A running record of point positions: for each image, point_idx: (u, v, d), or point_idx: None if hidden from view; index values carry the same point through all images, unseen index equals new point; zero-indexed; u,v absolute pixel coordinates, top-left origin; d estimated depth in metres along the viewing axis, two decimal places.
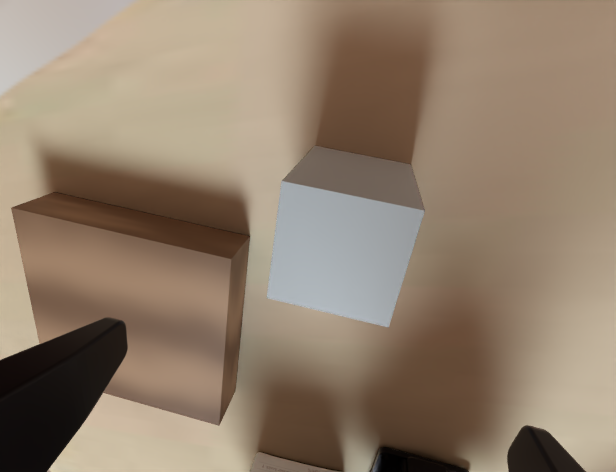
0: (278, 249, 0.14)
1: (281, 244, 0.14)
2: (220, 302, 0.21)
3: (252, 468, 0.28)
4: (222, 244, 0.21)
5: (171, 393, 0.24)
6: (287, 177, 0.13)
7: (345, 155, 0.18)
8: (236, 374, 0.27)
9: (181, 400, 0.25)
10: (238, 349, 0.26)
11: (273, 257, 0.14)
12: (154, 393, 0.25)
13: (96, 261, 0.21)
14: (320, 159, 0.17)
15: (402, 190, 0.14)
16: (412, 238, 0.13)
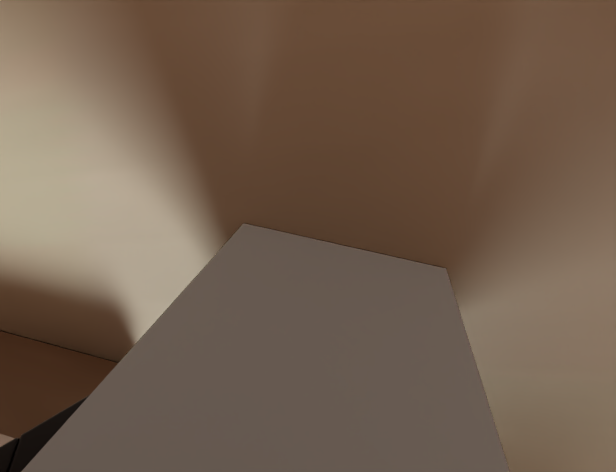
0: None
1: None
2: None
3: None
4: None
5: None
6: None
7: (302, 255, 0.08)
8: None
9: None
10: None
11: None
12: None
13: None
14: (229, 290, 0.07)
15: None
16: None
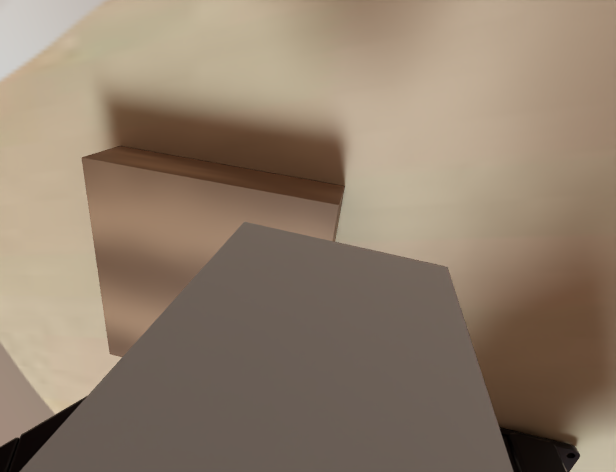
0: None
1: None
2: None
3: None
4: (321, 192, 0.18)
5: None
6: None
7: (303, 253, 0.08)
8: None
9: None
10: None
11: None
12: None
13: (177, 216, 0.19)
14: (230, 288, 0.07)
15: (457, 469, 0.04)
16: None
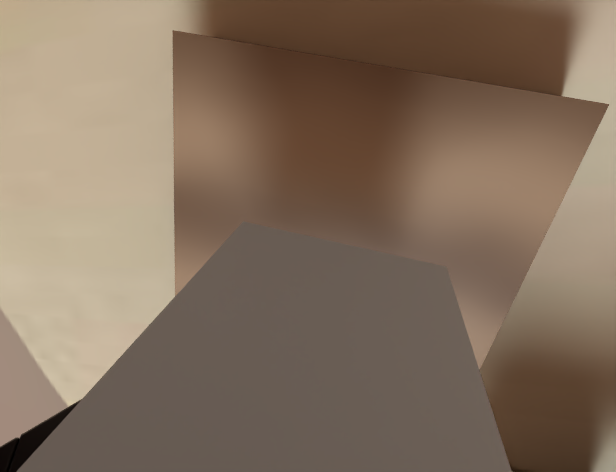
0: None
1: None
2: (547, 198, 0.12)
3: None
4: None
5: None
6: None
7: (302, 253, 0.08)
8: None
9: None
10: None
11: None
12: None
13: (317, 131, 0.12)
14: (229, 288, 0.07)
15: (455, 470, 0.04)
16: None
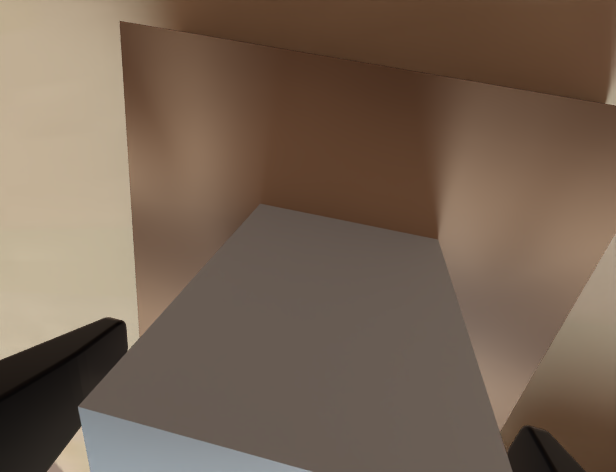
0: None
1: None
2: (593, 234, 0.09)
3: None
4: None
5: None
6: (115, 371, 0.05)
7: (313, 228, 0.09)
8: None
9: None
10: None
11: None
12: None
13: (303, 147, 0.10)
14: (254, 253, 0.08)
15: (437, 372, 0.05)
16: None
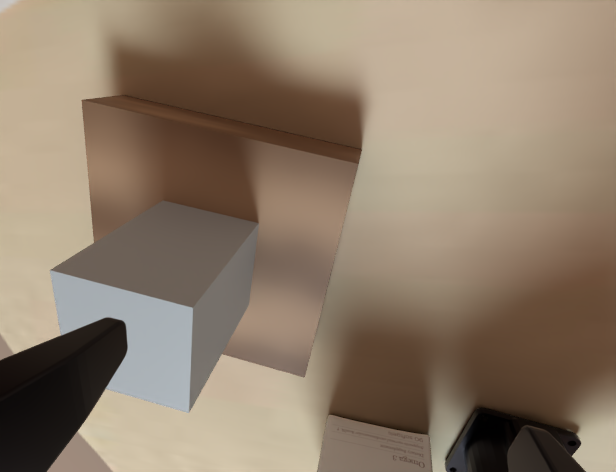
0: None
1: (67, 329, 0.13)
2: (333, 222, 0.17)
3: (326, 431, 0.25)
4: (338, 152, 0.17)
5: (252, 338, 0.21)
6: (65, 262, 0.13)
7: (186, 214, 0.17)
8: None
9: (263, 347, 0.21)
10: None
11: None
12: (231, 338, 0.21)
13: (182, 170, 0.17)
14: (144, 225, 0.16)
15: (199, 272, 0.13)
16: (188, 332, 0.12)
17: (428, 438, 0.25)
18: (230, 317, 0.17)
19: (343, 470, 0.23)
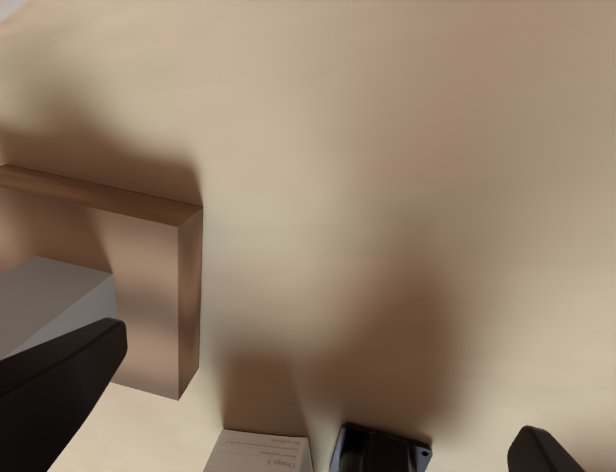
0: None
1: None
2: (170, 272, 0.20)
3: (216, 445, 0.28)
4: (172, 214, 0.20)
5: (129, 367, 0.24)
6: None
7: (48, 269, 0.21)
8: (198, 350, 0.27)
9: (139, 375, 0.24)
10: (198, 324, 0.25)
11: None
12: None
13: (45, 232, 0.21)
14: (2, 283, 0.19)
15: (26, 326, 0.17)
16: None
17: (305, 440, 0.28)
18: None
19: None
